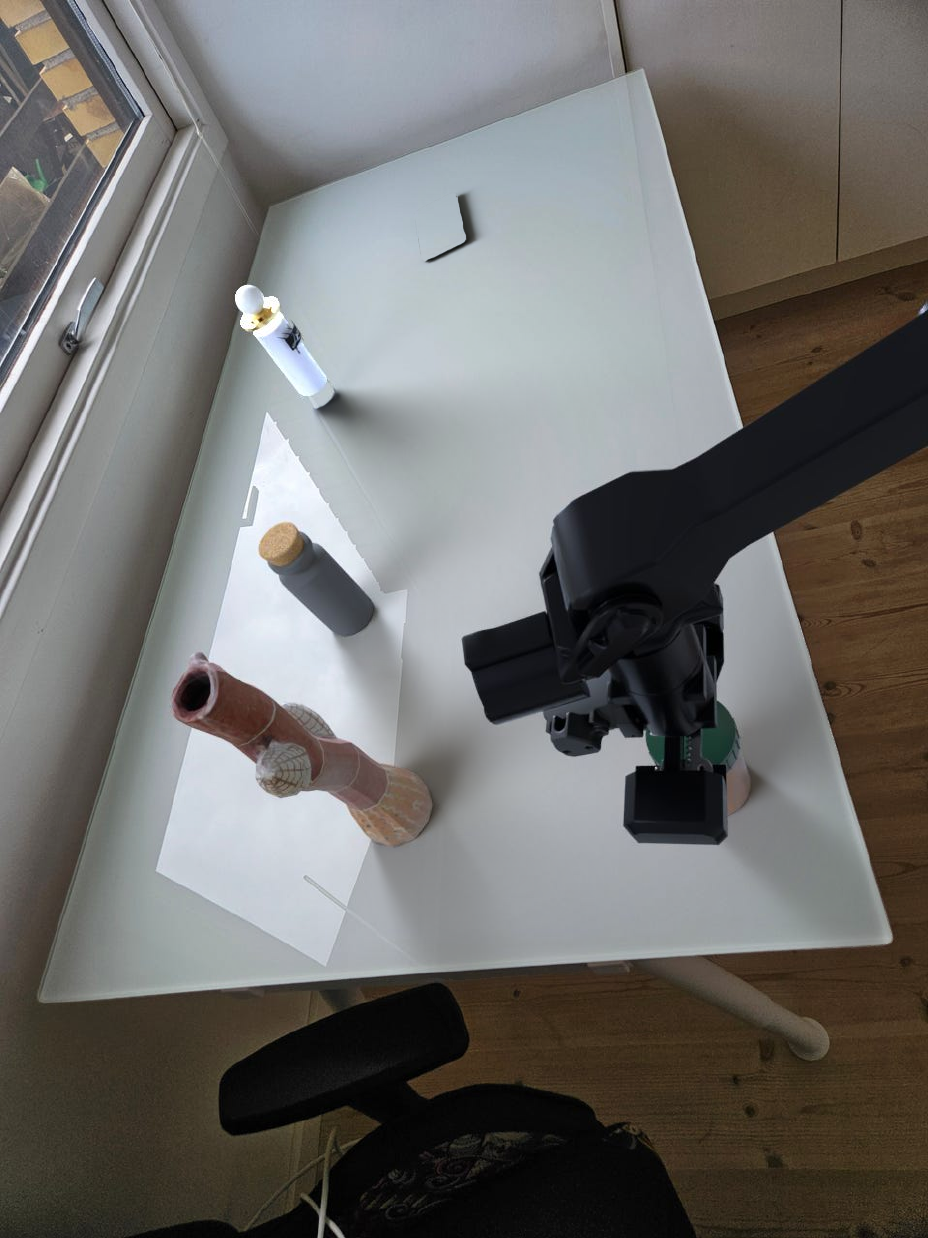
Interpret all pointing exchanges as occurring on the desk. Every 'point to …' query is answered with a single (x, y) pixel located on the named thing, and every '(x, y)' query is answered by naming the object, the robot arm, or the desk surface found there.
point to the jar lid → (707, 742)
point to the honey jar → (737, 785)
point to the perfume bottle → (279, 340)
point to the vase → (301, 752)
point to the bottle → (316, 579)
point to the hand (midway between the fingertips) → (698, 750)
